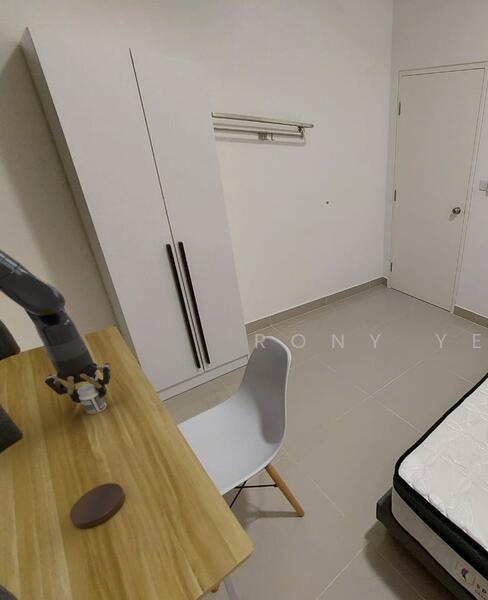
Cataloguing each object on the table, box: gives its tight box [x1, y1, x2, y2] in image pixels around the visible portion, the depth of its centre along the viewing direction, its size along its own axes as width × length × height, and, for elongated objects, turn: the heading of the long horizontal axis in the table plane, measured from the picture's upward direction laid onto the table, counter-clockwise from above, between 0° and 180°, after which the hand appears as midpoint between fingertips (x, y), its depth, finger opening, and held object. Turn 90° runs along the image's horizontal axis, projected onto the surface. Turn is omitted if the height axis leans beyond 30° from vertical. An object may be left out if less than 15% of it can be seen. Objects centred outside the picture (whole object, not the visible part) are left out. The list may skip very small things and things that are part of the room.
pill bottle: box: [77, 383, 108, 415], centre depth 97 cm, size 5×5×8 cm
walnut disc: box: [69, 482, 126, 530], centre depth 74 cm, size 9×9×2 cm
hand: (91, 398), depth 96 cm, fingers closed on pill bottle, 4 cm apart
